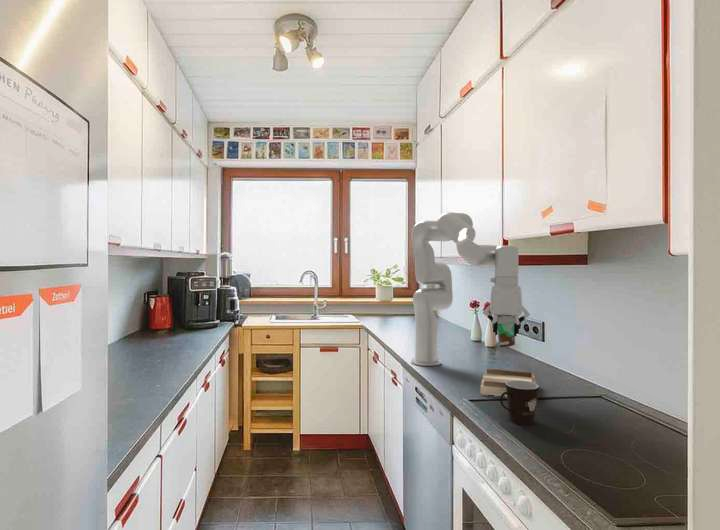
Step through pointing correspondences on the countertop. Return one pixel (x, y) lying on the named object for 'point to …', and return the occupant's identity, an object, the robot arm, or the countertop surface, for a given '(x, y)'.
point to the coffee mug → (521, 401)
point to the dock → (502, 380)
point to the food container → (506, 330)
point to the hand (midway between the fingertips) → (505, 334)
